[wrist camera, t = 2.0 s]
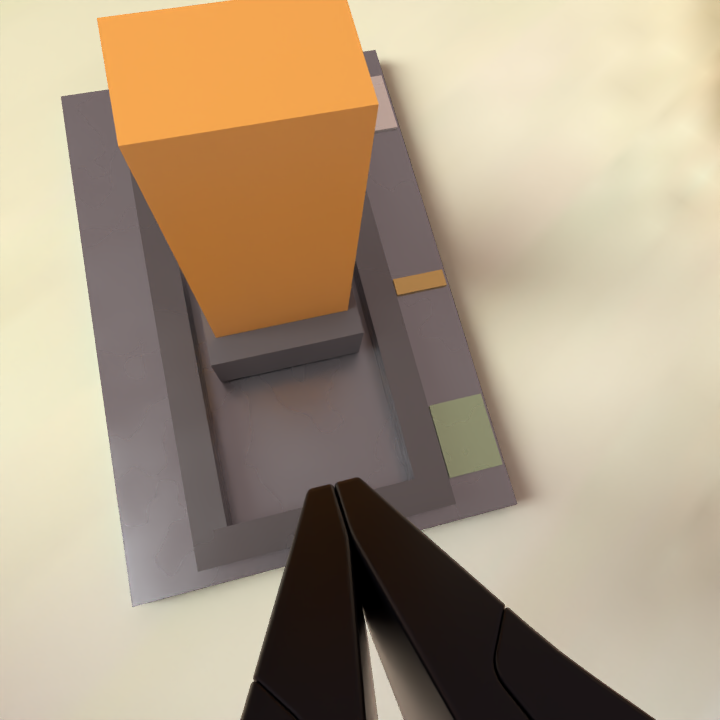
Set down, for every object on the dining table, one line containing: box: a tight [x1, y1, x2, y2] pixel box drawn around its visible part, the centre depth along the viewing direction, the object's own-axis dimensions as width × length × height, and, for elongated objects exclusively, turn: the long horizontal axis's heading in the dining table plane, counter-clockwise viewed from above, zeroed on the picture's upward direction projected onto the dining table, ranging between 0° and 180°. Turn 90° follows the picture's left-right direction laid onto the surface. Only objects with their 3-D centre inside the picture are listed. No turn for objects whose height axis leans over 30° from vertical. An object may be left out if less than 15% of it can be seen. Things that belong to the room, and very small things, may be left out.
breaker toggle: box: [97, 0, 379, 382], centre depth 15 cm, size 4×5×11 cm
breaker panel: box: [61, 50, 517, 607], centre depth 20 cm, size 18×12×2 cm, turn 14°
